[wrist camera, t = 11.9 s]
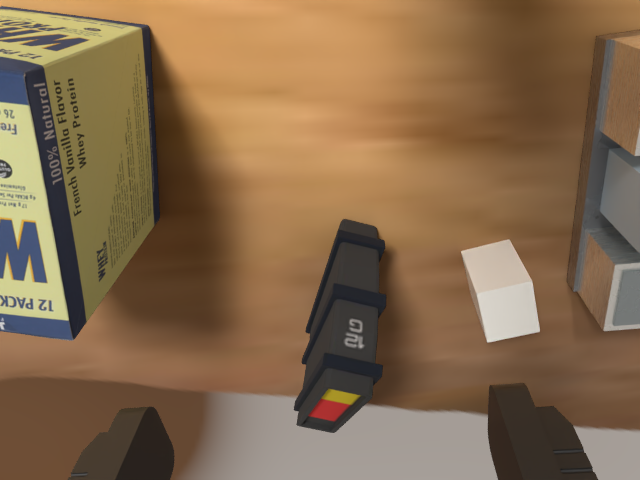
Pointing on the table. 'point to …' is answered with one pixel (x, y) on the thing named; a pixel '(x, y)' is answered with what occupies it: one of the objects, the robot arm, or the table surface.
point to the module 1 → (501, 291)
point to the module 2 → (623, 194)
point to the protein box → (71, 164)
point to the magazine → (343, 331)
